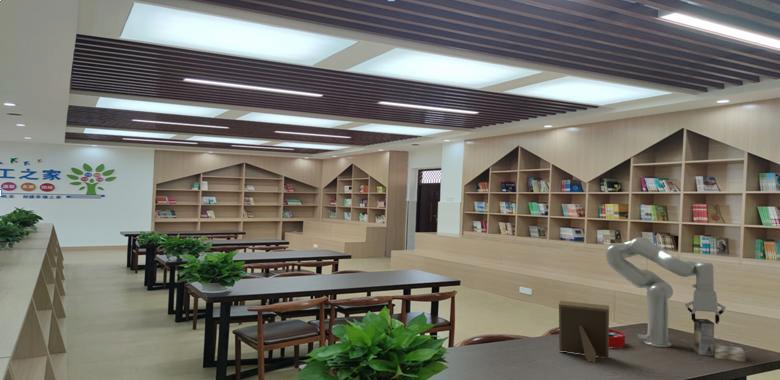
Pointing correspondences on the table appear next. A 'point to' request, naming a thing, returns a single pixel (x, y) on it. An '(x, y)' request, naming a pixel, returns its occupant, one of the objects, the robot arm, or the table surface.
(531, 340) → the table surface
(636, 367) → the table surface
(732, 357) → the stand
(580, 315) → the photo frame
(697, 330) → the coffee box
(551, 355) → the table surface
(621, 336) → the toy clock
